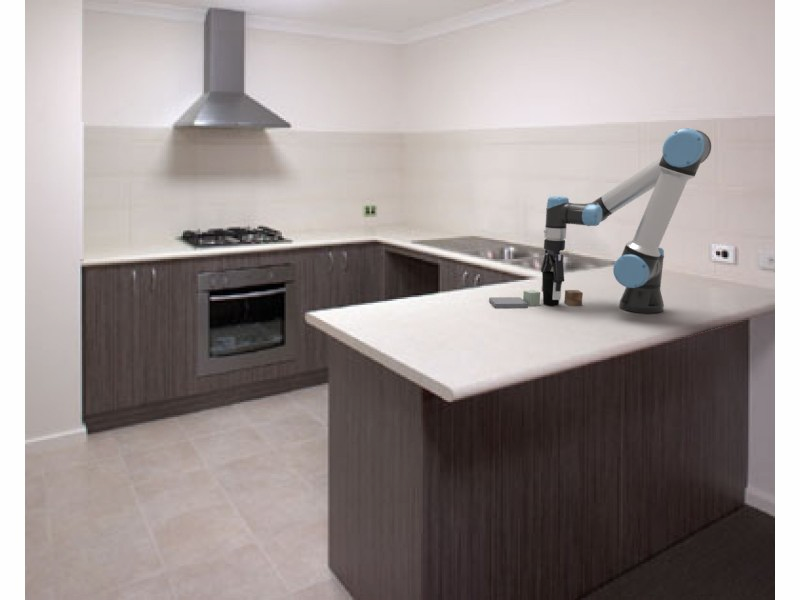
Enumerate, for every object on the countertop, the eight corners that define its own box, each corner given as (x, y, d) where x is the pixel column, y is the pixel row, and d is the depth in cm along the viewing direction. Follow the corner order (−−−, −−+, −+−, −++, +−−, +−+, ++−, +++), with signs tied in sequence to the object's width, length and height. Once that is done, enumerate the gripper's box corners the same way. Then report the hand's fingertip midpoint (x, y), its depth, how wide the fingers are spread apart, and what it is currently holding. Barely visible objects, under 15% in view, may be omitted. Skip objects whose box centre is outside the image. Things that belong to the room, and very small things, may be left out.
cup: (536, 304, 238) (538, 272, 236) (547, 301, 243) (549, 270, 241) (554, 307, 233) (556, 275, 230) (565, 304, 238) (567, 273, 235)
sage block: (532, 302, 240) (533, 290, 239) (539, 305, 236) (540, 292, 235) (522, 303, 239) (523, 290, 238) (529, 306, 235) (530, 293, 234)
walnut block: (577, 302, 242) (578, 289, 240) (581, 305, 237) (582, 292, 236) (564, 302, 241) (565, 290, 240) (568, 305, 236) (569, 292, 235)
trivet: (519, 301, 243) (520, 297, 242) (527, 307, 232) (528, 303, 231) (489, 301, 242) (489, 297, 241) (495, 308, 231) (495, 303, 231)
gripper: (535, 234, 245) (531, 288, 249) (555, 243, 220) (551, 303, 225) (554, 234, 245) (550, 288, 250) (576, 243, 221) (571, 303, 226)
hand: (550, 295), depth 238 cm, fingers open, 13 cm apart
